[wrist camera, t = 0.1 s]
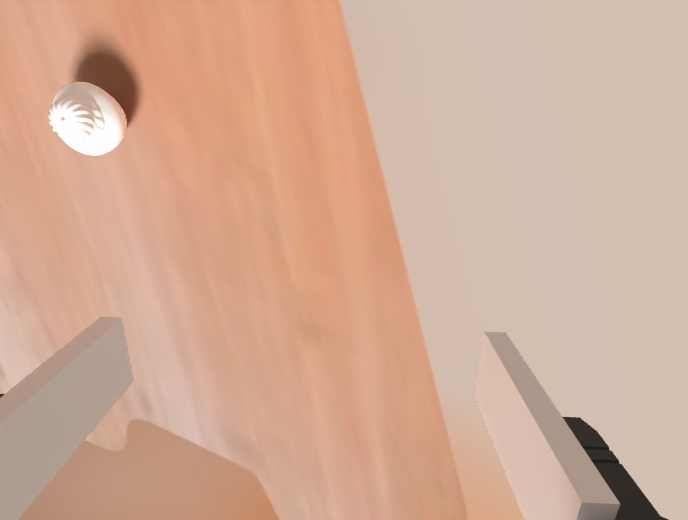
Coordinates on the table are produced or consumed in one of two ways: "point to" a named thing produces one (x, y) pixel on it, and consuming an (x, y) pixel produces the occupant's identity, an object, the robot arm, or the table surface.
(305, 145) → the table surface
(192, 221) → the table surface
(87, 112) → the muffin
